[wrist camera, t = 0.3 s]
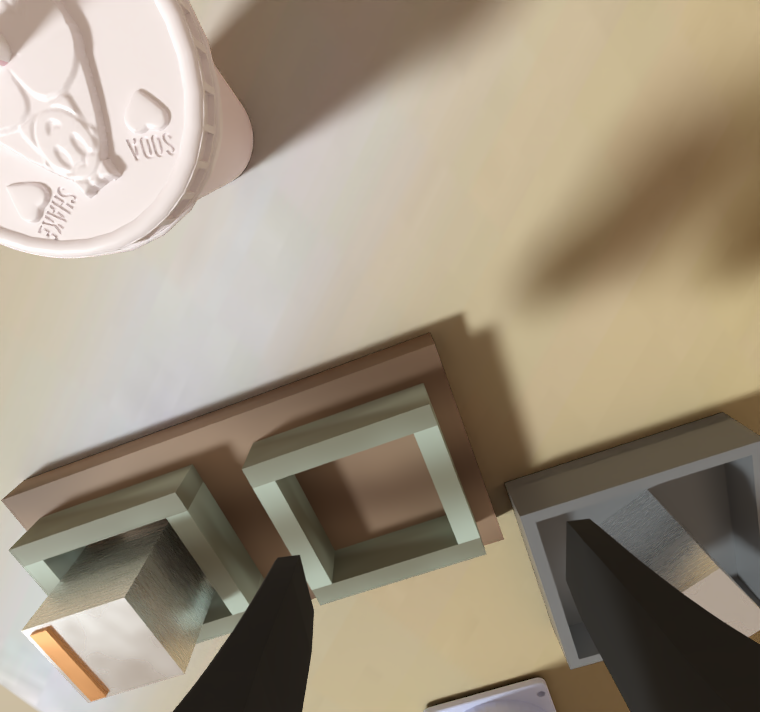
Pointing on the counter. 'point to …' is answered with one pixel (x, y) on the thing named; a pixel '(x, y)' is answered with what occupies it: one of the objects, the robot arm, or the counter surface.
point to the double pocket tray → (284, 486)
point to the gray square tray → (668, 485)
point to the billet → (124, 613)
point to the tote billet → (681, 561)
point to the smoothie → (109, 124)
